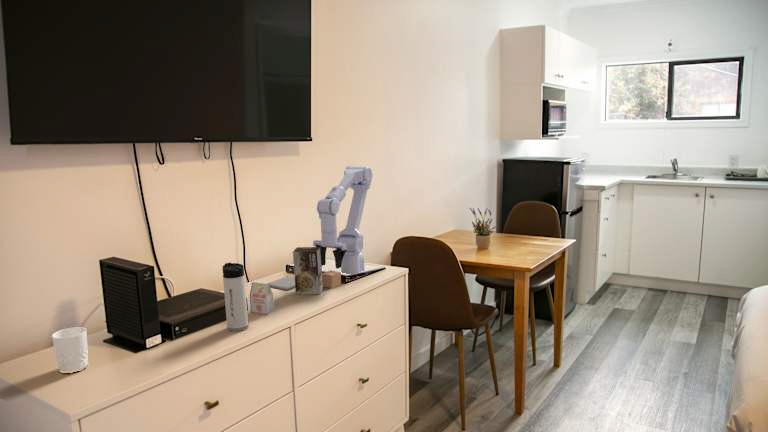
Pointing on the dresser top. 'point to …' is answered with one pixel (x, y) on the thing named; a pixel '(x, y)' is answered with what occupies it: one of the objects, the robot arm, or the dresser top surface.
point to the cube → (331, 279)
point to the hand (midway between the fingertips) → (330, 266)
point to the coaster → (283, 283)
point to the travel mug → (235, 296)
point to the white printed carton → (261, 298)
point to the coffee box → (308, 270)
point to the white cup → (71, 348)
